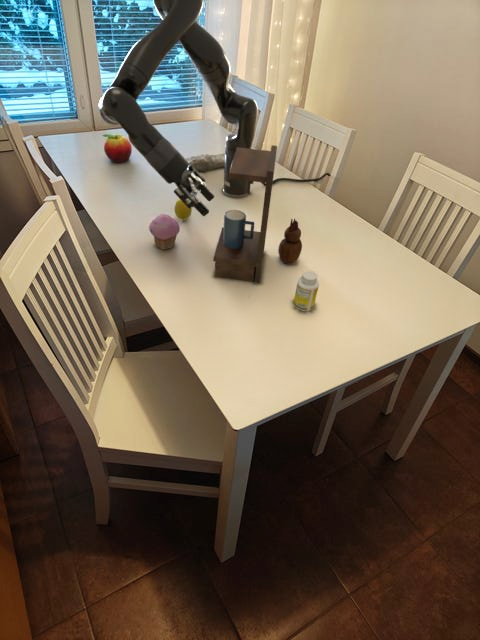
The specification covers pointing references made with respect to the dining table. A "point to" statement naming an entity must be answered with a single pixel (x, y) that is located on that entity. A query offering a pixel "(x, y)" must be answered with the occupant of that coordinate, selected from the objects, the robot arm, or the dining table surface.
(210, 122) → the dining table surface
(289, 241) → the wooden figurine
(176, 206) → the lemon
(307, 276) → the supplement bottle
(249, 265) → the shelf
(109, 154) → the fruit
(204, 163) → the elongated rock
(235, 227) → the mug
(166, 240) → the cupcake
